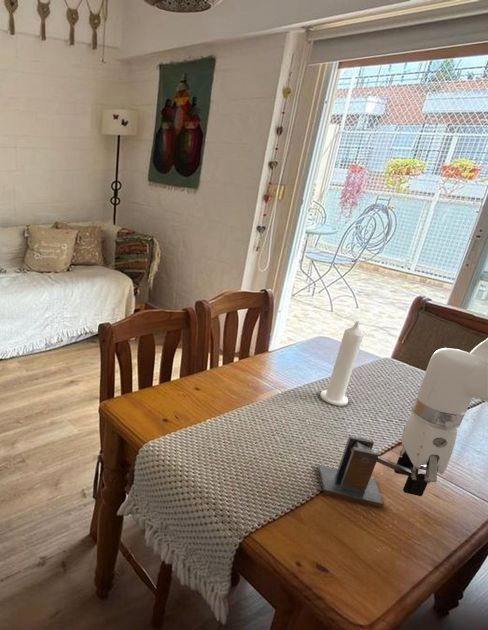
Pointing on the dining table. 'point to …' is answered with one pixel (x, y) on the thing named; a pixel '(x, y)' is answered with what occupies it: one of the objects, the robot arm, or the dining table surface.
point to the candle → (343, 366)
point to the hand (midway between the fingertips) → (407, 482)
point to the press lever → (405, 470)
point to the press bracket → (353, 475)
